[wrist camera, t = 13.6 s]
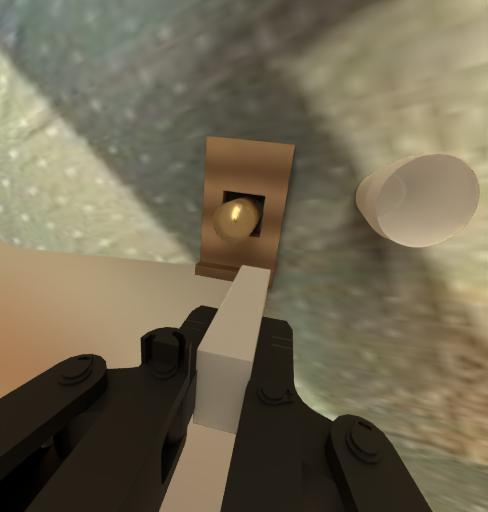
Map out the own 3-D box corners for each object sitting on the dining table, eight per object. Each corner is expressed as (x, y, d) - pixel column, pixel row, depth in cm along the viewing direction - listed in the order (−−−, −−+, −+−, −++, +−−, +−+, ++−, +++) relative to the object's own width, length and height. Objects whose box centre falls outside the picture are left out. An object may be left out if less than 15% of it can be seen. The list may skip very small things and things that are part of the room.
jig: (213, 139, 36) (202, 133, 31) (294, 147, 34) (295, 142, 29) (205, 263, 42) (195, 274, 37) (273, 275, 41) (271, 288, 36)
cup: (333, 190, 35) (355, 197, 24) (392, 146, 32) (449, 128, 21) (369, 238, 36) (405, 265, 25) (429, 199, 33) (501, 210, 22)
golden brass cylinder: (232, 194, 38) (213, 199, 28) (264, 198, 37) (255, 205, 28) (229, 225, 39) (211, 240, 30) (259, 229, 39) (250, 246, 29)
